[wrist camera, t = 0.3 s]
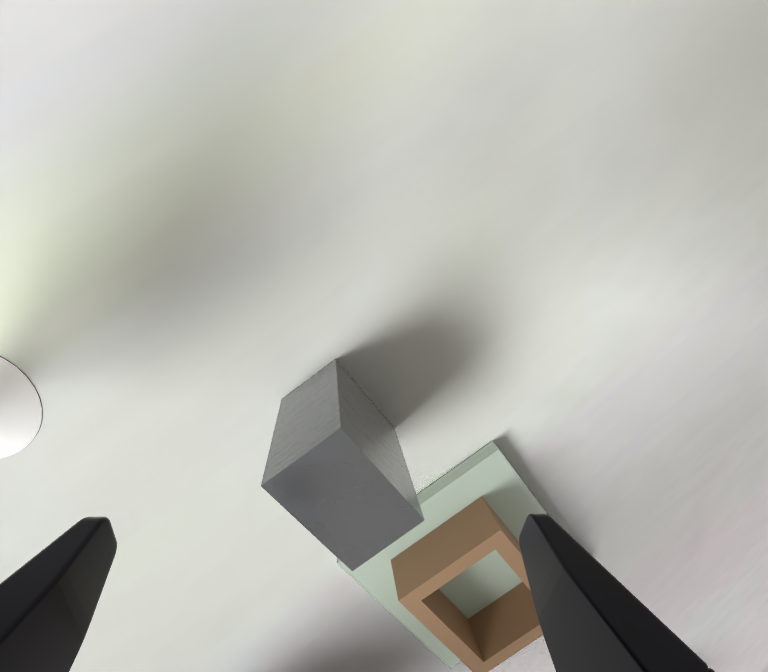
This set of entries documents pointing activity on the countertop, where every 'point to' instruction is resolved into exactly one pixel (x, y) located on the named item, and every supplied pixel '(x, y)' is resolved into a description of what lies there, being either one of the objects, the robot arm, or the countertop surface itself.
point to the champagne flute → (17, 410)
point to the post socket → (462, 566)
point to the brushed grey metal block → (341, 468)
